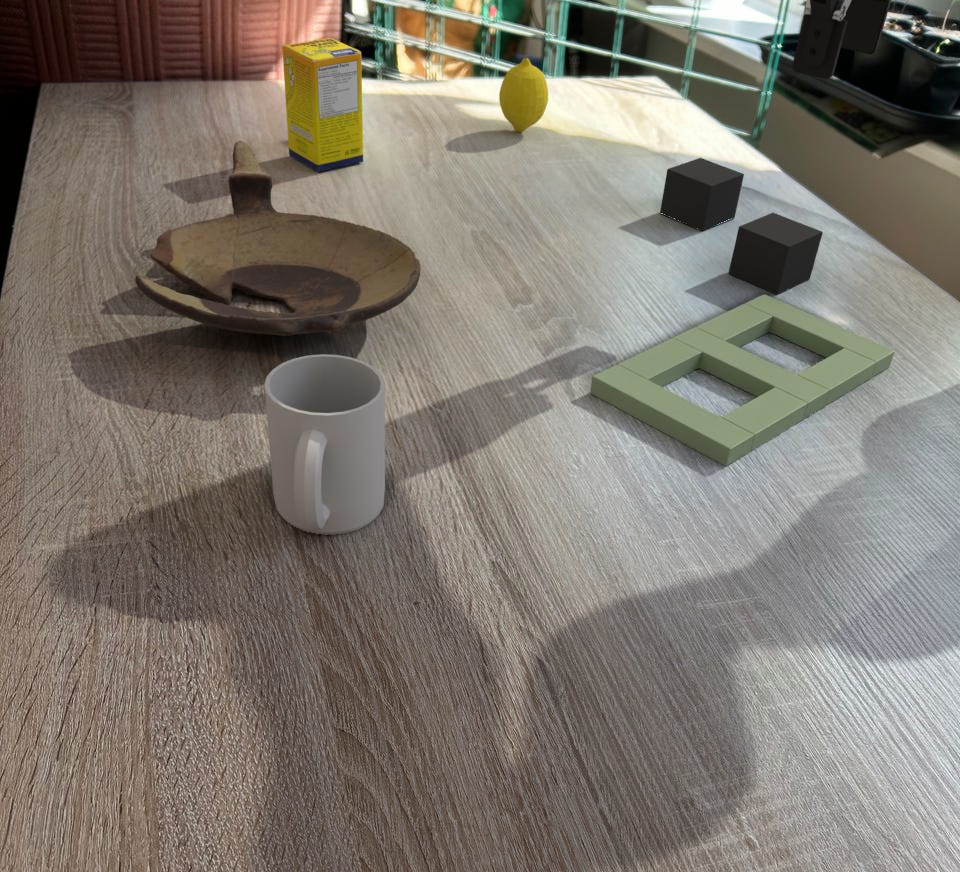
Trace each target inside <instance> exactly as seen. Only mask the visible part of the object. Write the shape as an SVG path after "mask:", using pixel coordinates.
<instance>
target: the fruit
mask: <svg viewBox="0 0 960 872" xmlns="http://www.w3.org/2000/svg"><path fill="white" fill-rule="evenodd" d="M498 95H499V96H498V97H499V99H498V100H499V106H500V109H501V112H502V114H503V116H504V118H505V119H506V121H507V122H508V123H510V124H511V126H512V128H513V130H514V131H516V132H517V133H523V132H525V131H526V130H527V129H528V128H530V127H532V126H534V125H535V124H536V123H538V122H539V121H540V120H541V119H542V117H543V115H544V114H545V112H546V109H547V106H548V102H549V88H548V83H547V80H546V77H545V75H544V72H542V70H540V68H538V67H537V66H534V65H533V64H532V63H531V60H530V59H529V58H528V56H526V57H524V58H523V59H522V60H521V61H520V63H518V64H516V65H514V66H513V67H511V68H509V70H508V71H507V73H506V74H505V76H504V78H503V80H502V82H501V85H500V89H499V94H498Z"/></svg>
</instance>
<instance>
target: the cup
mask: <svg viewBox="0 0 960 872" xmlns="http://www.w3.org/2000/svg"><path fill="white" fill-rule="evenodd" d="M264 396H265V409H266V421H267V432H268V443H269V455H270V457H269V458H270V468H271V481H272V493H273V497H274V503H275V509H276V511H277V512H278V514H279V515H280V516H281V517H282V519H283V520H284V521H285V522H287V523H288V524H289V523H290V524H289V525H291V526H292V525H293V526H292V527H294V528H295V527H296V529H298V528H299V529H298V530H300V529H301V530H300V531H302V530H303V532H305V531H306V532H305V533H309V532H311V533H310V534H313V533H316V534H315V535H318V534H322V535H321V536H338V535H344V534H345V535H346V534H350V533H353V532H356V531H359V530H361V529H363V528H364V527H366V526H368V525H370V524H371V523H372V522H373V521H374V520H375V519H376V518H377V517H378V516H379V515H380V513H381V511H382V510H383V508H384V505H385V493H386V381H385V379H384V377H383V374H382V373H381V372H380V371H379V370H377V368H376V367H375V366H372V365H371V364H369V363H367V362H366V361H363V360H360V359H357V358H354V357H350V356H345V355H339V354H325V353H323V354H322V353H321V354H310V355H304V356H300V357H295V358H292V359H289V360H287V361H284V362H282V363H280V364H278V365H277V366H276V367H274V368H273V369H272V370H271V371H270V372H269V374H267V376H266V377H265V382H264ZM323 534H324V535H323ZM329 534H330V535H329ZM337 534H338V535H337Z"/></svg>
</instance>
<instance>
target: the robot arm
mask: <svg viewBox="0 0 960 872" xmlns="http://www.w3.org/2000/svg"><path fill="white" fill-rule="evenodd" d="M891 2H892V0H806V2H805V5H804V15H803V19H802V22H801V28H800V30H799V36H798V40H797V44H796V48H795V53H794V56H793V60H792V65H791V68H792V71H793V72H795V73H799V74H803V75H806V76H807V75H808V76H811V77H815V78H818V79H823V80H829V79H831V78H832V77H833V76H834V75H835V71H836V68H837V67H836V66H837V63H838V60H839V56H840V52H841V49H844V50H850V51H853V52H858V53H861V54H862V53H863V54H865V55H873V54H875V53H876V52H877V51H878V48H879V44H880V41H881V39H882V33H883V31H884V27H885V23H886V20H887V17H888V13H889V10H890V6H891Z"/></svg>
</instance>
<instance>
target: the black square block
mask: <svg viewBox="0 0 960 872" xmlns="http://www.w3.org/2000/svg"><path fill="white" fill-rule="evenodd" d="M744 176H745V173H743V172H740V171H737V170H735V169H732V168H729V167H726V166H724V165H721V164H718V163H716V162H713V161H710V160H707V159H705V158H702V157H698V158H696V159H692V160H690V161H687V162H684V163H680V164H678V165H675V166H672V167H669V168H667V169H666V174H665V181H664V188H663V192H662V199H661V204H660V210H659V214H660V213H663V214H665V215H667V216H670V217H672V218H675V219H676V220H679V221H681V222H684V223H687V224H688V225H687V226H689V225H690V226H689V227H691V226H693V227H695V228H694V229H696V228H698V229H700V230H699V231H701V232H704V231H707V230H710V229H712V228H714V227H715V226H714V225H717V224H719V223H721V222H724V221H726V220H728V219H731V218H733V217H735V218H736V213H737V209H738V203H739V199H740V195H741V191H742V185H743V180H744ZM667 216H666V217H667ZM672 218H671V219H672ZM676 220H675V221H676ZM679 221H678V222H679ZM681 222H680V223H681ZM684 223H683V224H684ZM724 223H725V222H724ZM719 225H720V224H719ZM713 226H714V227H713ZM717 226H718V225H717ZM693 227H692V228H693ZM711 227H712V228H711ZM698 229H697V230H698ZM706 229H707V230H706ZM703 230H704V231H703Z"/></svg>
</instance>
